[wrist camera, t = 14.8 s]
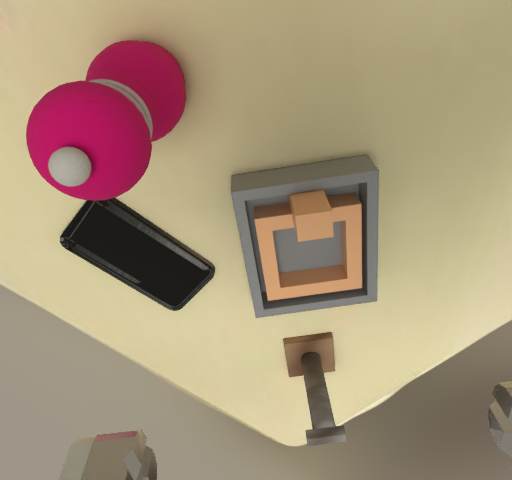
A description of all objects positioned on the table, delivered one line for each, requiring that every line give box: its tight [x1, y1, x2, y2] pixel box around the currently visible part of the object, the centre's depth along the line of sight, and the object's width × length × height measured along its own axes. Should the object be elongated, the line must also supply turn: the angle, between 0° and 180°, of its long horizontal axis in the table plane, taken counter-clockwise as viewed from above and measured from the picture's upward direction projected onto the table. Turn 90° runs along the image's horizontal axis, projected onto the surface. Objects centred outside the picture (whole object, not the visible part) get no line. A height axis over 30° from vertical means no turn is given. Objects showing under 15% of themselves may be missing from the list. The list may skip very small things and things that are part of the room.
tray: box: [231, 155, 379, 318], centre depth 42 cm, size 13×15×4 cm
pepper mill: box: [26, 41, 186, 201], centre depth 26 cm, size 7×7×20 cm
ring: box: [254, 189, 362, 301], centre depth 39 cm, size 10×12×7 cm
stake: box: [283, 332, 346, 446], centre depth 48 cm, size 6×6×12 cm
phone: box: [60, 198, 215, 311], centre depth 44 cm, size 8×1×15 cm
